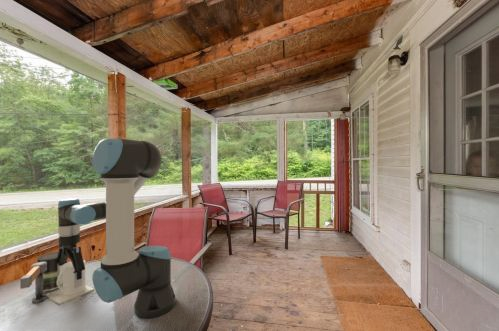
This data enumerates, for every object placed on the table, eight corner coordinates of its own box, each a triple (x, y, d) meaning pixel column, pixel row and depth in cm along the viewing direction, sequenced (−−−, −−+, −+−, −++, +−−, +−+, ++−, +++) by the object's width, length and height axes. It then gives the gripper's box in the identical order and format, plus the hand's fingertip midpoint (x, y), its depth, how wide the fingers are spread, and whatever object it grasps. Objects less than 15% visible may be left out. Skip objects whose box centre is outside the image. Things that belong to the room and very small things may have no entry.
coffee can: (43, 293, 104) (43, 261, 104) (33, 288, 109) (32, 257, 109) (70, 283, 113) (70, 253, 113) (59, 278, 118) (59, 250, 118)
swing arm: (33, 270, 100) (33, 262, 100) (48, 268, 102) (48, 260, 102) (15, 289, 85) (15, 279, 85) (33, 286, 87) (33, 276, 87)
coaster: (94, 290, 106) (93, 288, 106) (59, 305, 95) (59, 303, 95) (79, 283, 113) (79, 281, 113) (45, 296, 102) (45, 294, 102)
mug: (63, 301, 97) (62, 271, 97) (49, 297, 100) (48, 268, 100) (90, 287, 108) (90, 260, 108) (77, 284, 111) (77, 258, 111)
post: (48, 299, 100) (47, 271, 100) (34, 304, 96) (34, 275, 96) (43, 296, 102) (43, 269, 102) (30, 301, 98) (30, 273, 98)
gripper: (93, 235, 101) (94, 285, 101) (66, 228, 114) (66, 273, 113) (73, 240, 94) (74, 294, 94) (46, 232, 107) (47, 280, 107)
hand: (70, 282), depth 104 cm, fingers open, 13 cm apart
